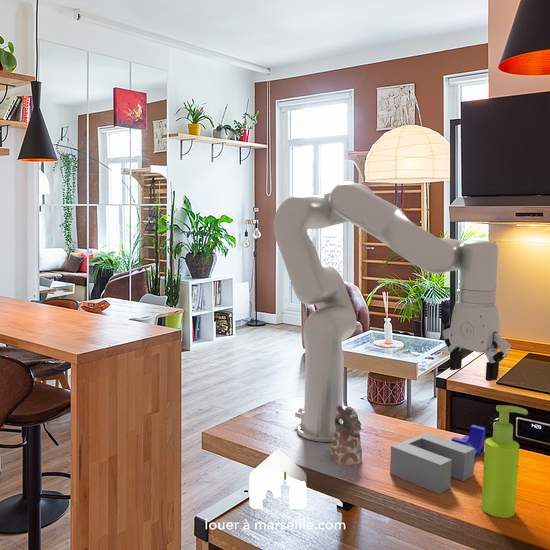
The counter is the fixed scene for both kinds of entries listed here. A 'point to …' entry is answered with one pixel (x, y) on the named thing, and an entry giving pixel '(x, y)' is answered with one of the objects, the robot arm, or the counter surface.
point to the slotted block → (432, 461)
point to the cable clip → (474, 439)
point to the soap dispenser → (501, 466)
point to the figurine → (346, 438)
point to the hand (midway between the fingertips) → (472, 374)
